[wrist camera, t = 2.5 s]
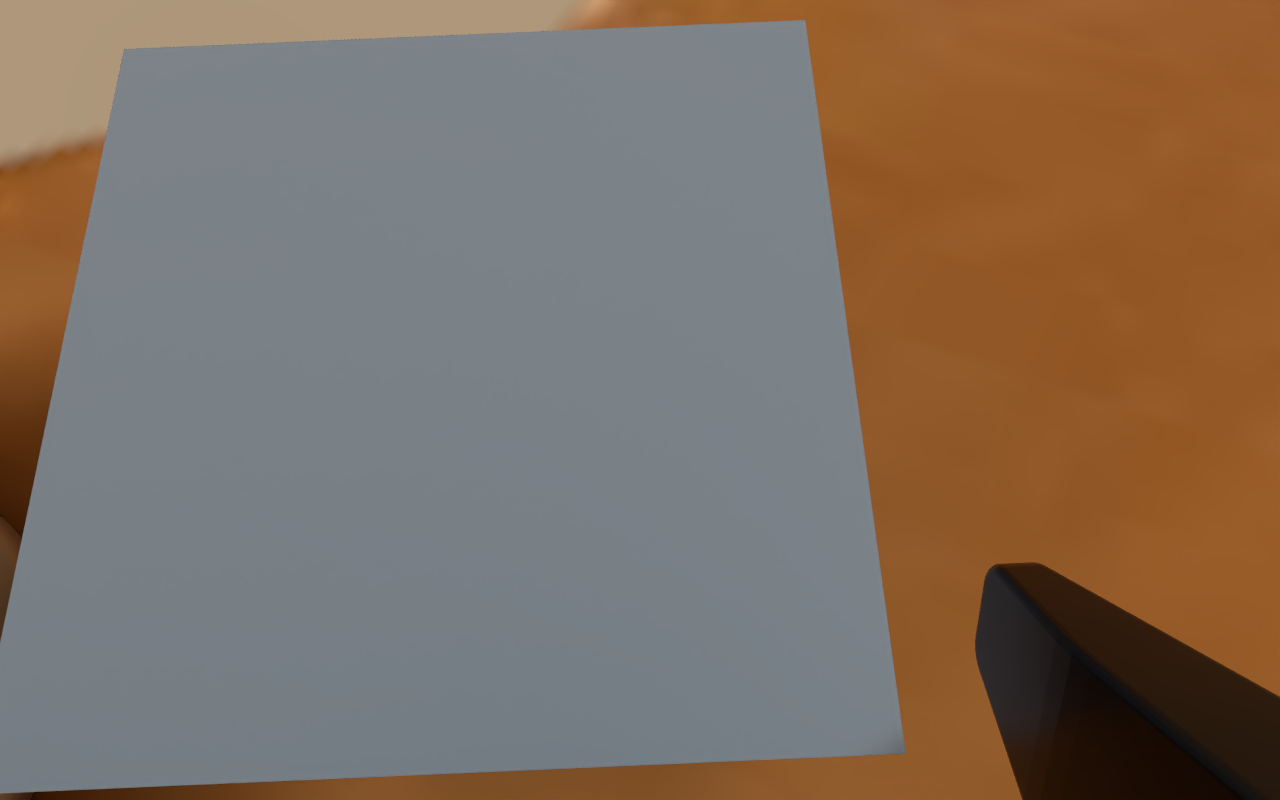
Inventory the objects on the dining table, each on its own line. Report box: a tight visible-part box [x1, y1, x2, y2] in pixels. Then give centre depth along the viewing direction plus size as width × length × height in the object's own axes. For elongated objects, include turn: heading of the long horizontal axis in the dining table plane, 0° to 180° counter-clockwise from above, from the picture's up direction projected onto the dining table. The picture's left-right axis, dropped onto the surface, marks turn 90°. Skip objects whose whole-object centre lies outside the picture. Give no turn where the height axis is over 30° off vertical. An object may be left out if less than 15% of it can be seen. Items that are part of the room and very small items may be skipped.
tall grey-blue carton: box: [0, 20, 906, 793], centre depth 12 cm, size 6×6×11 cm
